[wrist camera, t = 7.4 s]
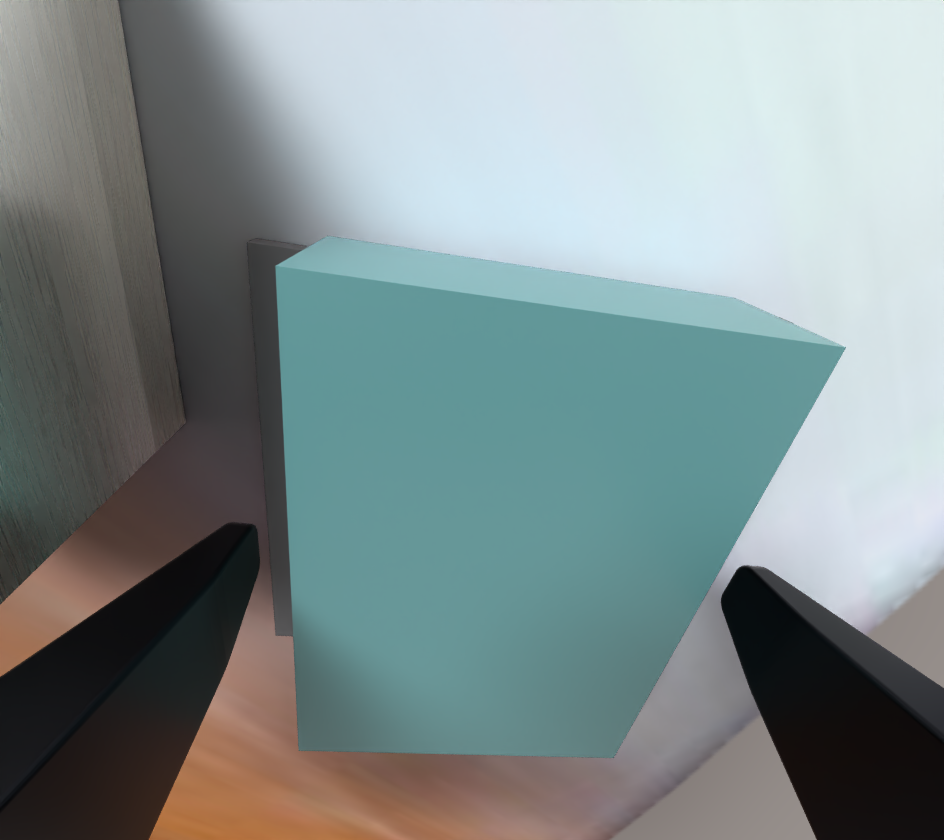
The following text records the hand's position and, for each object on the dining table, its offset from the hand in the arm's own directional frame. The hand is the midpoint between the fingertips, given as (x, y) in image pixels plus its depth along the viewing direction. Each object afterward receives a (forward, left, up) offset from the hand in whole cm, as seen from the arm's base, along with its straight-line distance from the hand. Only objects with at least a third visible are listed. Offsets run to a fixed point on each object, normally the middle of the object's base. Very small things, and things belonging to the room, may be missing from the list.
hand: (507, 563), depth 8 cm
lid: (0, 0, -1) cm, 1 cm away
